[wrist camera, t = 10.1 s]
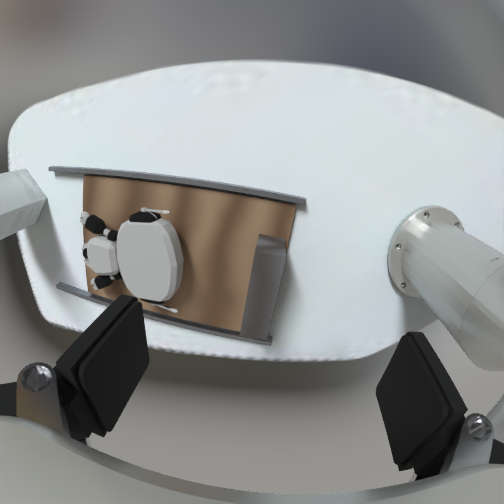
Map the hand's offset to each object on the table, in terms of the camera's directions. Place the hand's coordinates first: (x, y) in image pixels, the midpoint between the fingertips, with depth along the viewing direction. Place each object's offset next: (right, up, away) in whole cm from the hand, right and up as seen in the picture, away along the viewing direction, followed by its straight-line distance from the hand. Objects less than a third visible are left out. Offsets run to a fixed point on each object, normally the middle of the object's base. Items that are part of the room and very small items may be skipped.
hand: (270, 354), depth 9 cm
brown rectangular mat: (-11, +3, +25) cm, 28 cm away
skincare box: (-37, +13, +24) cm, 46 cm away
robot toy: (-16, +4, +25) cm, 30 cm away
